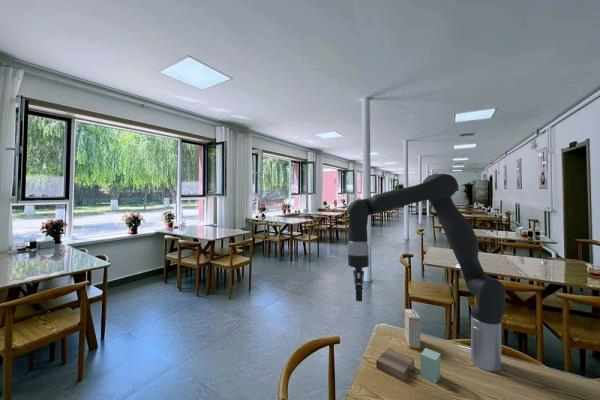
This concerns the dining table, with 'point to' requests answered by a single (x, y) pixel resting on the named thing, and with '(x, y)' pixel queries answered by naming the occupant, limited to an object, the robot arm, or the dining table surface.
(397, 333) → the dining table surface
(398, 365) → the walnut plinth
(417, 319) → the supplement box
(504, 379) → the dining table surface
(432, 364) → the sage block
